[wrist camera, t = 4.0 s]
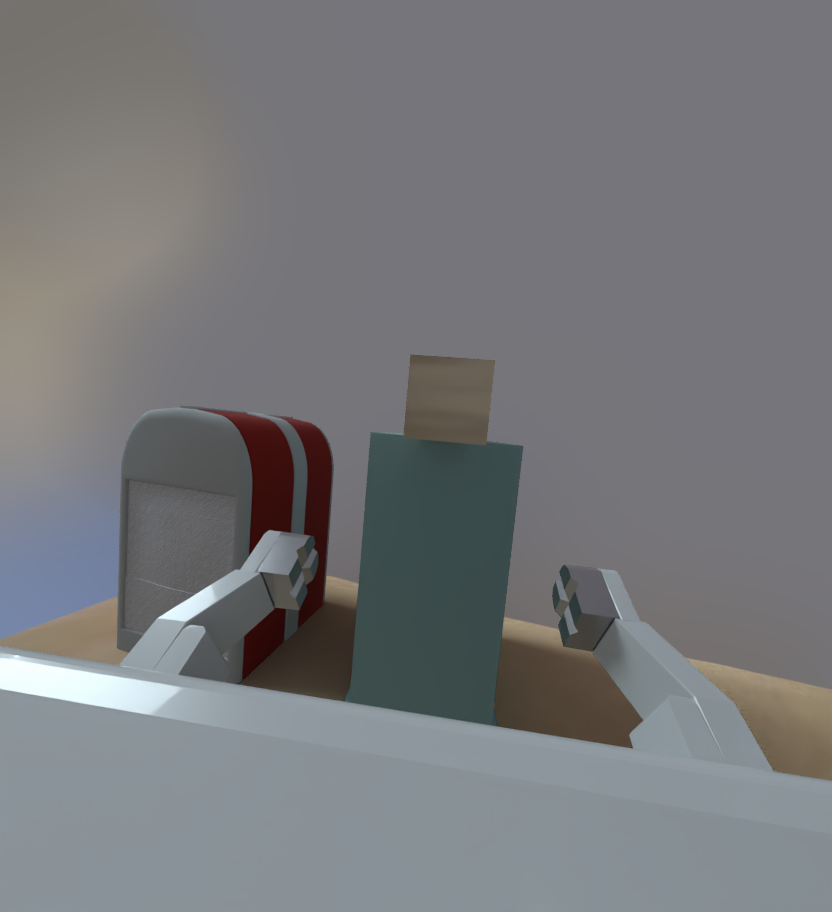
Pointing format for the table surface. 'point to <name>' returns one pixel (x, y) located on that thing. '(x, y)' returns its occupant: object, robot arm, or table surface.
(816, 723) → the table surface
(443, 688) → the tall teal upright box
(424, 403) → the rail
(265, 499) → the red striped toaster
